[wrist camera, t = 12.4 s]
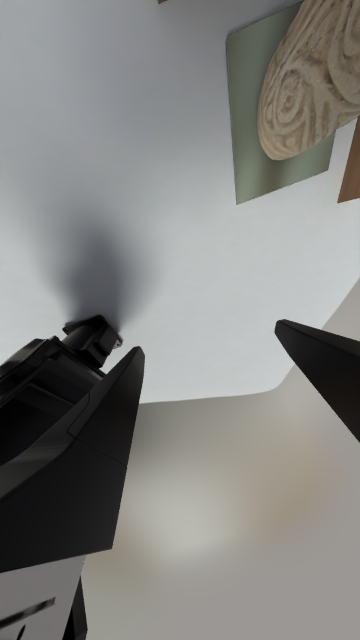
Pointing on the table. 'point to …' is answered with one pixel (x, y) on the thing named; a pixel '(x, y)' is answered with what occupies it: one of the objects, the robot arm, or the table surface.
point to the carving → (311, 79)
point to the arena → (244, 92)
